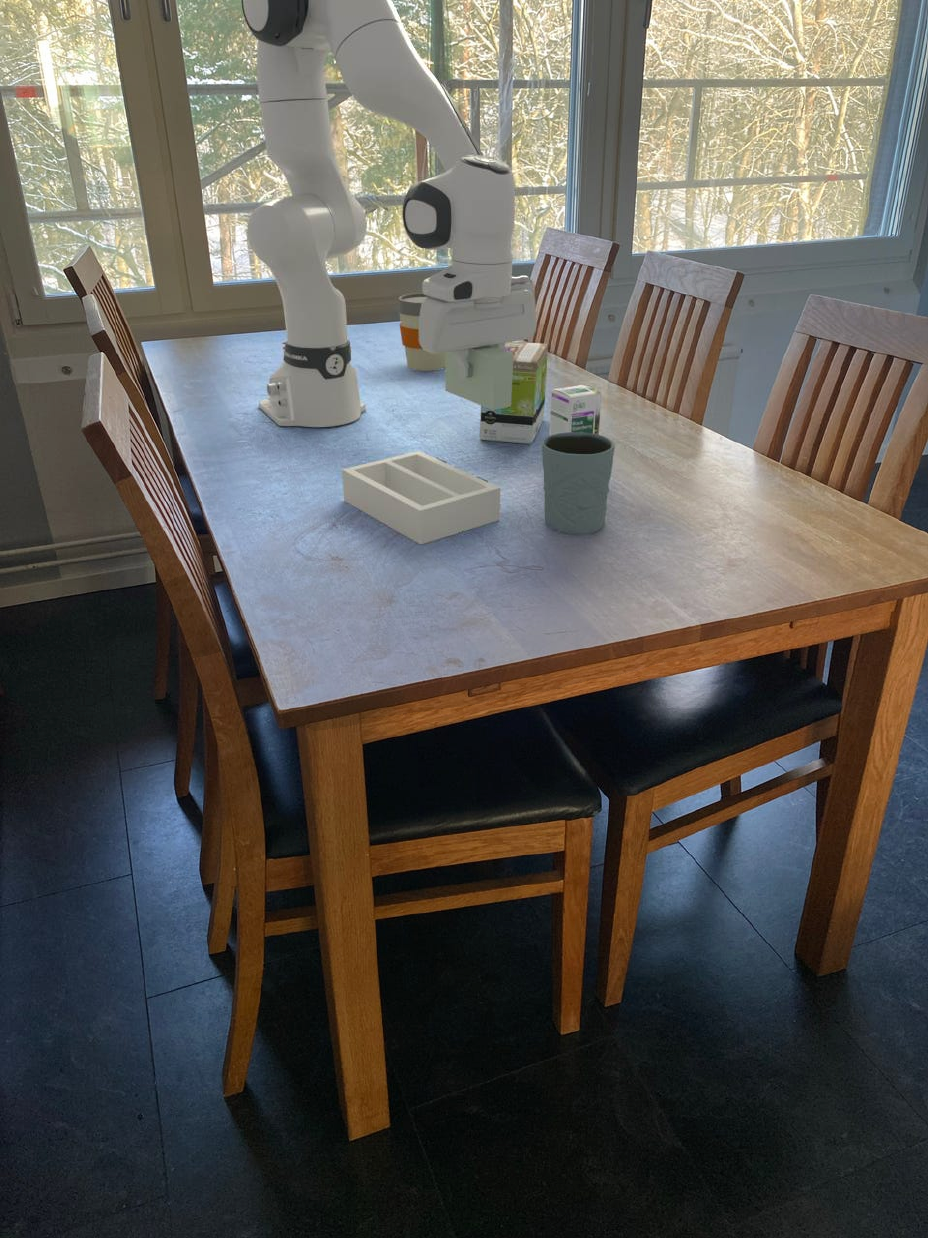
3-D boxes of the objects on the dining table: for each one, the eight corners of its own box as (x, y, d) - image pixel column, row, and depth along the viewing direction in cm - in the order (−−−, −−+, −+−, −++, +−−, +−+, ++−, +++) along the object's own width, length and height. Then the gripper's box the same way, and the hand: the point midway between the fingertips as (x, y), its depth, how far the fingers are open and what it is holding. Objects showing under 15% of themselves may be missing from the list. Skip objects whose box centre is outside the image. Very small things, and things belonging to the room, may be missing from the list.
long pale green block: (445, 390, 147) (446, 339, 143) (463, 387, 149) (465, 336, 145) (493, 410, 139) (495, 356, 135) (511, 406, 141) (514, 353, 137)
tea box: (534, 445, 164) (538, 360, 156) (478, 441, 165) (479, 357, 158) (545, 420, 177) (548, 341, 169) (493, 416, 178) (494, 338, 171)
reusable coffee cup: (464, 364, 214) (465, 296, 206) (434, 375, 204) (433, 305, 197) (420, 356, 220) (418, 290, 212) (388, 367, 210) (386, 299, 203)
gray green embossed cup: (589, 542, 127) (596, 459, 122) (525, 526, 132) (528, 445, 126) (619, 518, 135) (626, 438, 129) (557, 504, 140) (562, 426, 134)
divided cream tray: (344, 500, 140) (342, 469, 138) (425, 479, 148) (424, 449, 146) (420, 544, 127) (420, 510, 124) (505, 518, 135) (506, 486, 132)
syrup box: (566, 487, 145) (571, 396, 138) (546, 476, 150) (550, 387, 143) (596, 481, 148) (603, 391, 141) (575, 470, 152) (581, 382, 145)
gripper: (521, 270, 143) (516, 360, 150) (412, 283, 132) (412, 379, 139) (548, 277, 139) (542, 369, 146) (438, 290, 128) (437, 389, 135)
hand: (478, 374), depth 142 cm, fingers closed on long pale green block, 3 cm apart
